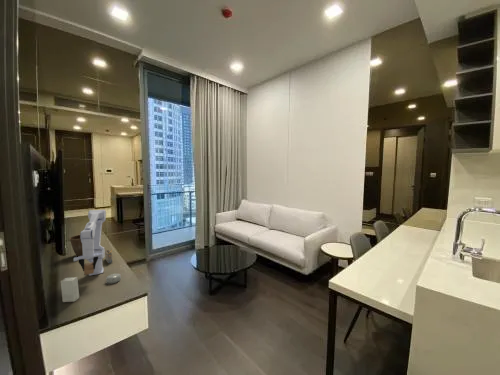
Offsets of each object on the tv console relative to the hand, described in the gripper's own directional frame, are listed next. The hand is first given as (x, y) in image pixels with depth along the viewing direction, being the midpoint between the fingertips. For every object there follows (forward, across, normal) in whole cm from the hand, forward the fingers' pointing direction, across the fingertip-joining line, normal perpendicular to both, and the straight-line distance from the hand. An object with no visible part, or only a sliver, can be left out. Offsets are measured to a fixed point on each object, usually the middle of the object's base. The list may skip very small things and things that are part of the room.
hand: (89, 269), depth 136 cm
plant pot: (+9, -10, +61) cm, 62 cm away
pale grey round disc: (+9, +13, -5) cm, 16 cm away
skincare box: (+9, -7, -18) cm, 21 cm away
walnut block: (+2, 0, 0) cm, 2 cm away
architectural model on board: (+9, +10, +34) cm, 37 cm away
